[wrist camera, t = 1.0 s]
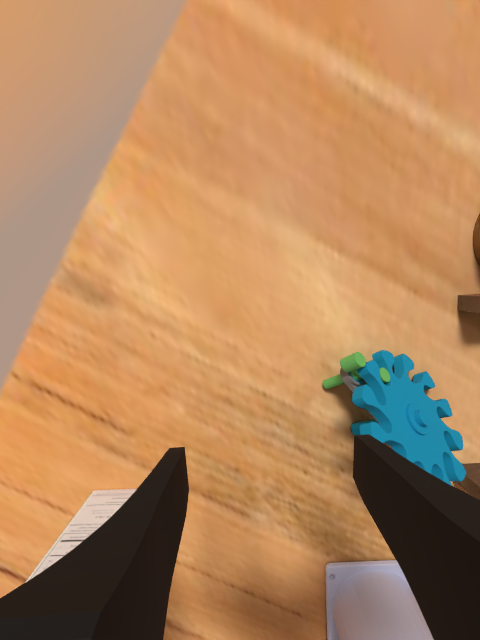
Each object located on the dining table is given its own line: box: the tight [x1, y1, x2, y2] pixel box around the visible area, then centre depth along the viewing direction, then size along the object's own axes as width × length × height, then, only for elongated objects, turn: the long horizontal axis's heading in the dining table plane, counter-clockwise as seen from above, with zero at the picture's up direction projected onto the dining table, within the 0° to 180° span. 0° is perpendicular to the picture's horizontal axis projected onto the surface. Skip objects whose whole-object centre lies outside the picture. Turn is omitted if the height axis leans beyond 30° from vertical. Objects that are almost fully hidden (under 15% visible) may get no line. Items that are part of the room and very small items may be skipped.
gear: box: [323, 350, 466, 486], centre depth 21 cm, size 11×6×10 cm
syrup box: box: [25, 489, 137, 583], centre depth 18 cm, size 6×6×14 cm
